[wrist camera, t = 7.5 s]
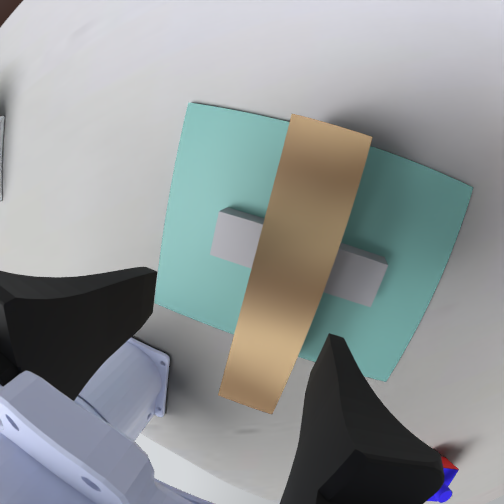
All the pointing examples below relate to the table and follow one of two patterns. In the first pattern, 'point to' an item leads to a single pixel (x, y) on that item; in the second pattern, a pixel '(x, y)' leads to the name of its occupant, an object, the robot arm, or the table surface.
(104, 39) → the table surface
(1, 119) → the light bulb box
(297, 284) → the bronze bar
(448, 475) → the red blue dreidel
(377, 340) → the board
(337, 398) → the robot arm
